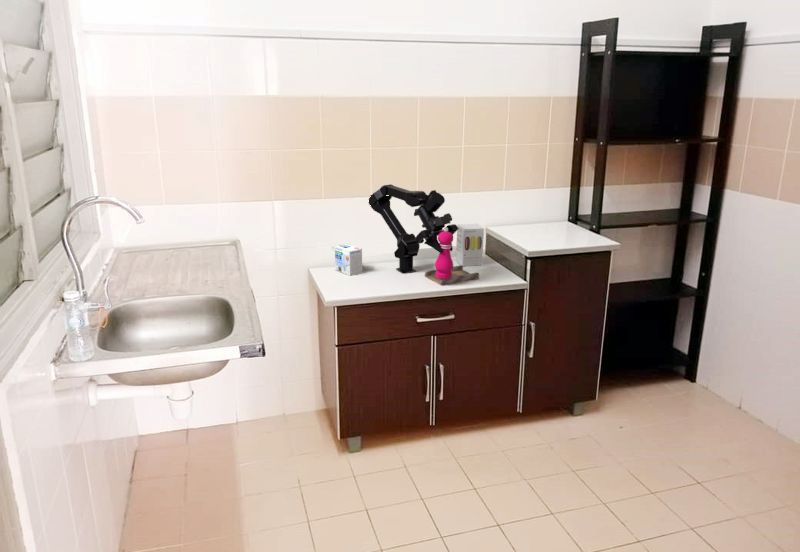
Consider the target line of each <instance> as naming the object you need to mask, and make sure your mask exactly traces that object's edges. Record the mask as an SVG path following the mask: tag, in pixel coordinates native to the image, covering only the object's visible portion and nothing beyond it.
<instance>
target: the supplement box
mask: <svg viewBox="0 0 800 552" xmlns="http://www.w3.org/2000/svg"><path fill="white" fill-rule="evenodd" d="M456 225H457V227H458V230H457V231H456V243H455V244H456V249H455V261H456V263H458V264H459V265H462V266H463V267H474V266H483V265H482V264H483V252H484V251H483V250H484V249H483V248H484V233H485V232H484V231H485V228H484V227H483V226H481V225H479V224H477V223H465V224H462V223H461V224H459V223H458V224H456Z"/></svg>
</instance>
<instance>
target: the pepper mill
mask: <svg viewBox="0 0 800 552" xmlns="http://www.w3.org/2000/svg"><path fill="white" fill-rule="evenodd" d="M443 229H444V231H443V232H441V233H440V234H439V235H438V236H437V240H438V242H439V244H440V246H441V248H442V250H443V253H442V254H441V253H440V252H438V253H439V254H438V257H437V259H436V260H435V263H434V268H435V269H436V270H437V271H436V277H437V278H440V279H449V278H451V276H452V272H451V270H452V269H453V266H454V262H453V259H452V256H451V251H450V248H451V247H452V248H453V241H454V234H453V235H452V233H451V232H448V228H446V227H444V228H443ZM451 242H452V244H451ZM451 245H452V246H451Z"/></svg>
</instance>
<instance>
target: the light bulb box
mask: <svg viewBox="0 0 800 552" xmlns="http://www.w3.org/2000/svg"><path fill="white" fill-rule="evenodd" d="M334 254H335V255H334V256H335V257H334V259H335V262H334V264H335V265H334V268H335V271H337V272H340V273H341V274H343V275H347V276H349V277H350V276H355V275H360V274H363V248H361V247H359V246H355V245H352V244H350V243H343V244H339V245H335V246H334Z"/></svg>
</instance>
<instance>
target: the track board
mask: <svg viewBox="0 0 800 552" xmlns="http://www.w3.org/2000/svg"><path fill="white" fill-rule="evenodd" d="M436 271H437V270H436V268H435V269H430V270H429V269H428V270H425V271H424V277H425V278H427V279H428V280H430V281H432V282H434V283H436V284H437V285H440V286H446V284H447V285H452V284H451V283H453V284H457V282H458V283H463V281H464V282H469V280H470V281H475V280H479V279H480V277H479V276H480V272H472V273H470V272H469V271H466V270H464V266H462V265H460V264H459V265H453V269H452V270H451V272H452V276H451V278H449V279H440V278H437V277H436Z"/></svg>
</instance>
